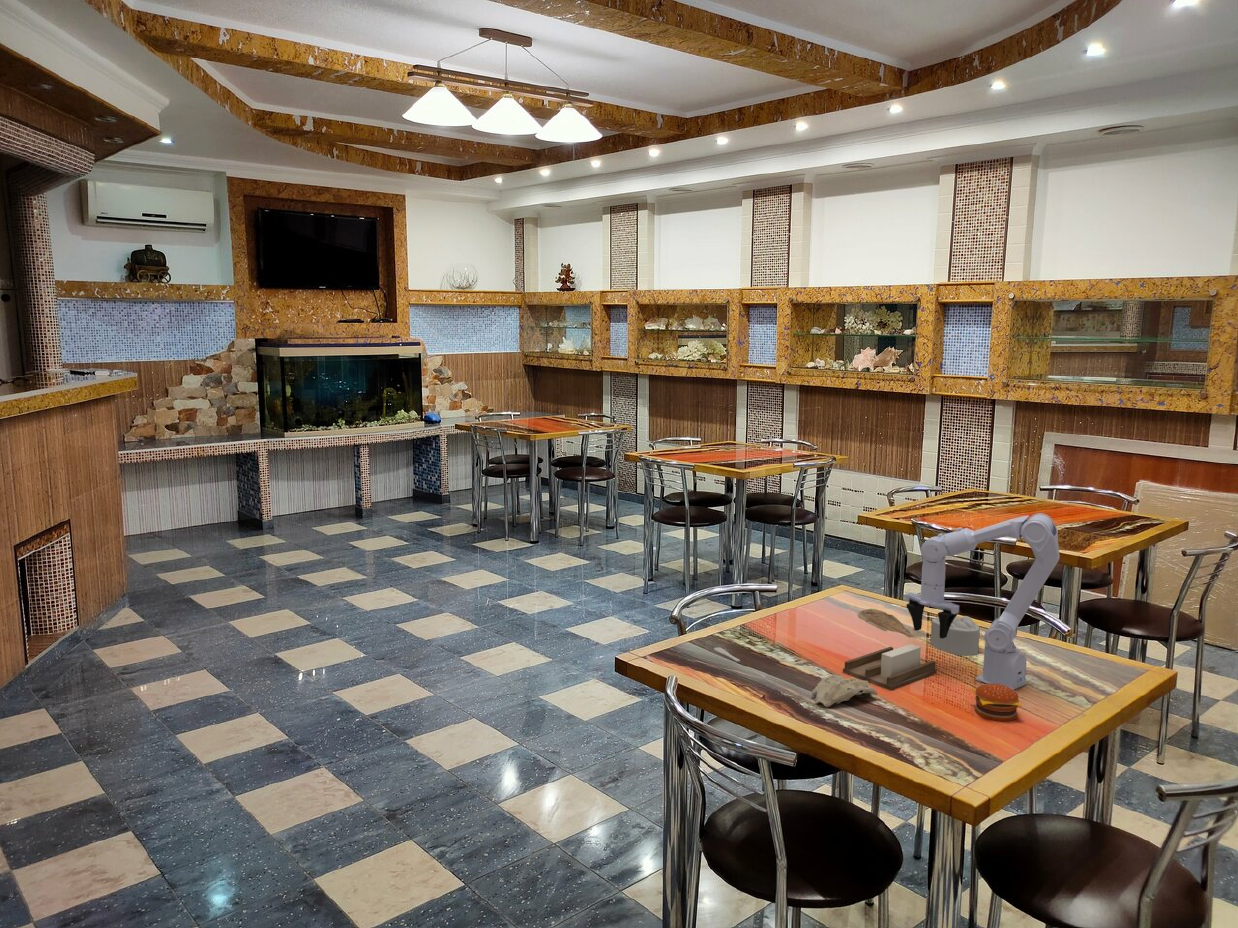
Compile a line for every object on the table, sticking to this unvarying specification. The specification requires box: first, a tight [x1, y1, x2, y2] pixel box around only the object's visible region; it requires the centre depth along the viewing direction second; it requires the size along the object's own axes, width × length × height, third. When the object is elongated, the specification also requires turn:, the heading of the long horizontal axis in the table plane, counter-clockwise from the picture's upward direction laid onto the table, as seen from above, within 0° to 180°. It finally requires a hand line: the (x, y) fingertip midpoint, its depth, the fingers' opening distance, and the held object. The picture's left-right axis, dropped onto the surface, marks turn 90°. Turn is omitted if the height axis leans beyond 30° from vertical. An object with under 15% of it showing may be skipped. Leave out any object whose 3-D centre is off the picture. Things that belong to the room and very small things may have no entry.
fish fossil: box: [857, 608, 915, 638], centre depth 270 cm, size 26×10×1 cm, turn 18°
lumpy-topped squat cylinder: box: [929, 615, 981, 657], centre depth 249 cm, size 10×13×9 cm
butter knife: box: [713, 647, 767, 678], centre depth 239 cm, size 1×24×3 cm
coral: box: [811, 674, 878, 708], centre depth 215 cm, size 15×12×5 cm
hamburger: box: [972, 683, 1023, 722], centre depth 206 cm, size 9×10×7 cm
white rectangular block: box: [881, 643, 922, 679], centre depth 228 cm, size 3×12×6 cm, turn 126°
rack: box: [842, 646, 938, 691], centre depth 231 cm, size 15×19×3 cm
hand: (930, 633), depth 233 cm, fingers open, 7 cm apart
